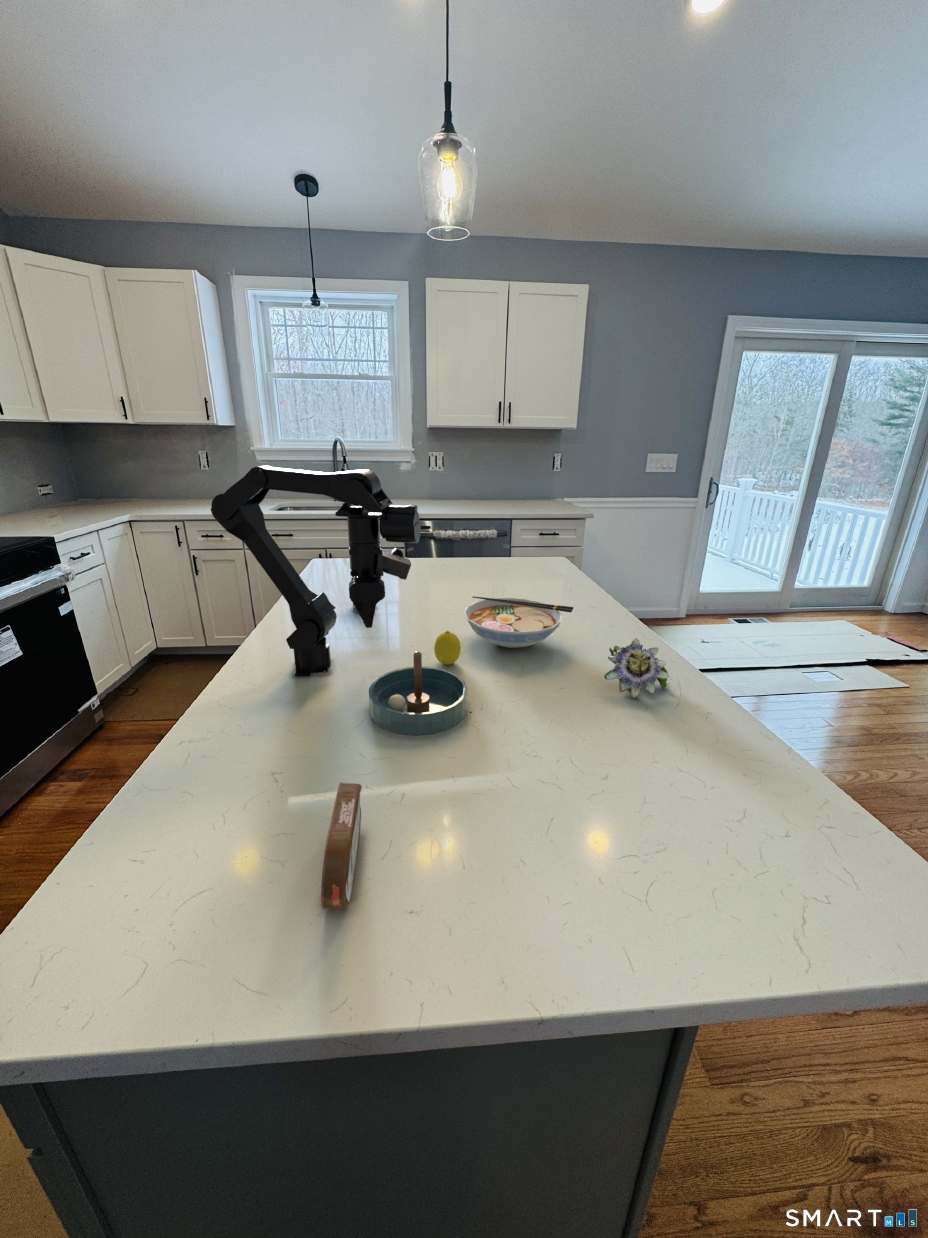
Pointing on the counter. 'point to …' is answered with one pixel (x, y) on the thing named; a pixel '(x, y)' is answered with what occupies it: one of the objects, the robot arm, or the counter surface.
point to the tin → (341, 847)
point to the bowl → (436, 683)
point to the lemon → (447, 648)
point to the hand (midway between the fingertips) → (368, 618)
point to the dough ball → (396, 702)
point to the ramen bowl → (514, 620)
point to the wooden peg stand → (418, 689)
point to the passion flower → (637, 668)
